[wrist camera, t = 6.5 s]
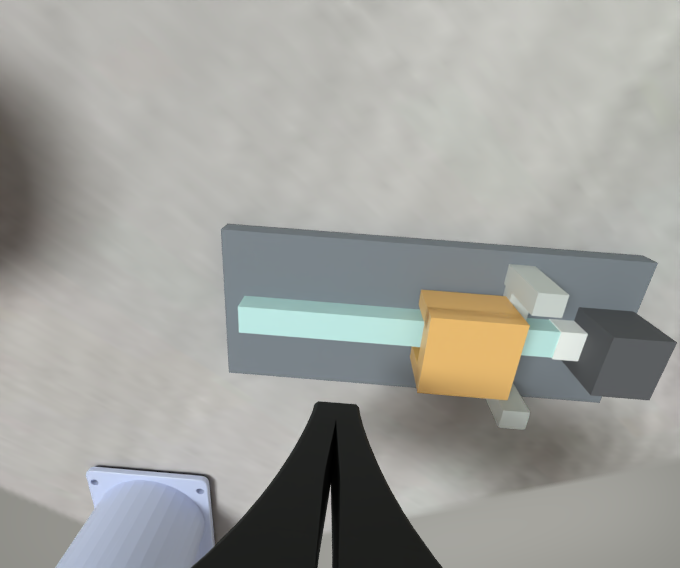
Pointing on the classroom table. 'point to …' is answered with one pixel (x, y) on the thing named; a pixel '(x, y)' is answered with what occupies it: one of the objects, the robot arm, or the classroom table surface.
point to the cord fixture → (407, 322)
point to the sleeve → (468, 345)
